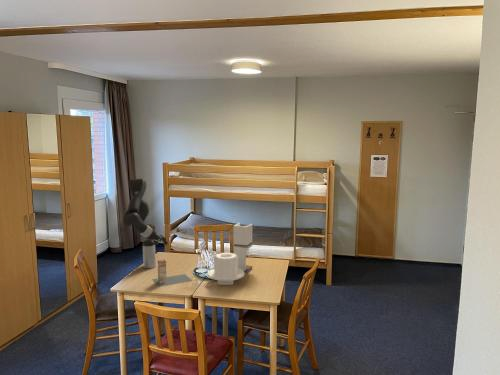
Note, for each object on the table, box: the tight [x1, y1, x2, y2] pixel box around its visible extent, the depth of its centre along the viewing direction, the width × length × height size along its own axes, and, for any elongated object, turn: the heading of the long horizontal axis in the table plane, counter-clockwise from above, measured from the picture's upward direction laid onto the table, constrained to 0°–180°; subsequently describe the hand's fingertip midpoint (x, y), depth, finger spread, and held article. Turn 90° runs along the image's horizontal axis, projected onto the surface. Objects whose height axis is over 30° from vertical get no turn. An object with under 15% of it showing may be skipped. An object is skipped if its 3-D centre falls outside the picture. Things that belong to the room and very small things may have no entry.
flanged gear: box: [207, 252, 245, 286], centre depth 273 cm, size 25×25×19 cm
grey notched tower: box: [233, 222, 253, 274], centre depth 297 cm, size 11×11×35 cm
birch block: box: [157, 259, 167, 283], centre depth 272 cm, size 4×4×15 cm
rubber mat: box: [152, 273, 193, 288], centre depth 276 cm, size 16×24×1 cm, turn 119°
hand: (162, 243), depth 278 cm, fingers open, 8 cm apart
